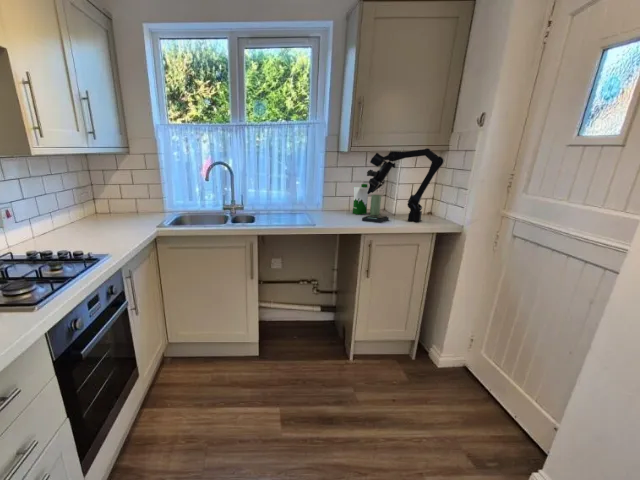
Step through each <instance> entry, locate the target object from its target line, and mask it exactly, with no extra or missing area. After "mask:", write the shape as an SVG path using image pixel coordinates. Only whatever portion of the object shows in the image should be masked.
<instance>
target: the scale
mask: <svg viewBox="0 0 640 480" xmlns="http://www.w3.org/2000/svg"><path fill="white" fill-rule="evenodd" d="M389 219H390V218H389V216H388V215H381V214H380V215H370V214H369V215H366V216H363V217H361V221H362V222H369V223H377V224H382V223H385V222H387V221H389Z"/></svg>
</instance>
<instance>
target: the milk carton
mask: <svg viewBox="0 0 640 480" xmlns="http://www.w3.org/2000/svg"><path fill="white" fill-rule="evenodd" d="M369 187H370V186H369ZM369 187H368V183H361V186H356V187H353V204H352V214H353V215H357V216H359V215H367V214H368V200H369V199H368V198H369V194H367V192H368V190H369Z"/></svg>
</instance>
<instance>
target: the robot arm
mask: <svg viewBox="0 0 640 480" xmlns="http://www.w3.org/2000/svg"><path fill="white" fill-rule="evenodd" d="M417 157H425V158H427V159H428V160H429V161H430V162H431V164H430V166H429V169H428V172H427V173H426V175H425V177H424V178H423V180H422V182H421V184H420V185H419V187H418V189H417V190H416V192H415V193H414V194H411V195H410V197H409V199H408V200H407V204H406V205H407V207H408V209H409V213H408V214H407V215H408V216H407V222H413V223H420V222H422V221H423V220H422V213H423V211H422V210H423V206H422V205H421V200H422V197H423V194H424V193H425V192H426V190H427V188H428V186H429V185H430V183H431V181H432V179H433V178H434V176H435V174H436V173H437V172H438V171H439V170H440V169H441V167H442V166H443V165H444V163H445V158H444V157H443V156H439V155H438V154H436V153H435V152H433V150H431V148H423V149H415V150H408V151H400V150H399V151H398V150H396V151H394V150H393V151H390V152H389V153H388V154H387V155H384V156H383V155H381V154H380V153H379V152H376V153H375V154H374V155H373V156H372V157H371V159H370V161H369V163H370V164H372V165H373V166H374V167H376V168H379V167H380V168H379V169H378V170H377V171H376V170H373V169H369V170H367V171H366V177H372V178H369V180H368V184H369V190H368V192H367V194H368V195H370V194H373V193H374V192H376V191H377V190H378V189H380V188H381V187H382V186H384V185H385V184H386V178H387V177H388V175H389V173H390V171H391V170H392V169H396V168H397V163H396V162H397V161H401V160H405V159H408V158H417ZM393 162H394V163H393Z"/></svg>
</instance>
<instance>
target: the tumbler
mask: <svg viewBox="0 0 640 480" xmlns="http://www.w3.org/2000/svg"><path fill="white" fill-rule="evenodd" d="M370 199H371V200H370V207H369V208H370V209H369V215H381V203H382V194H372V195H371V197H370Z"/></svg>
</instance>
